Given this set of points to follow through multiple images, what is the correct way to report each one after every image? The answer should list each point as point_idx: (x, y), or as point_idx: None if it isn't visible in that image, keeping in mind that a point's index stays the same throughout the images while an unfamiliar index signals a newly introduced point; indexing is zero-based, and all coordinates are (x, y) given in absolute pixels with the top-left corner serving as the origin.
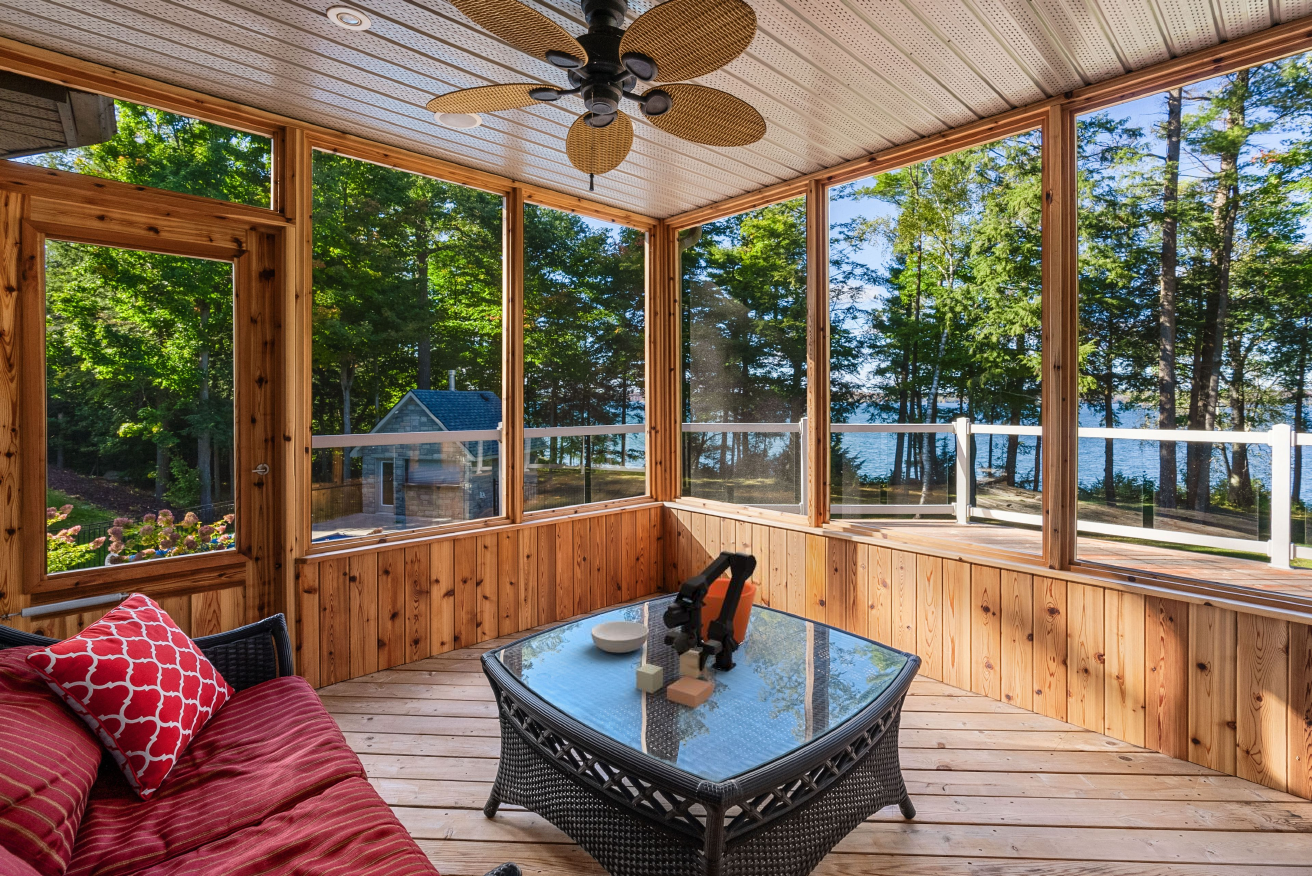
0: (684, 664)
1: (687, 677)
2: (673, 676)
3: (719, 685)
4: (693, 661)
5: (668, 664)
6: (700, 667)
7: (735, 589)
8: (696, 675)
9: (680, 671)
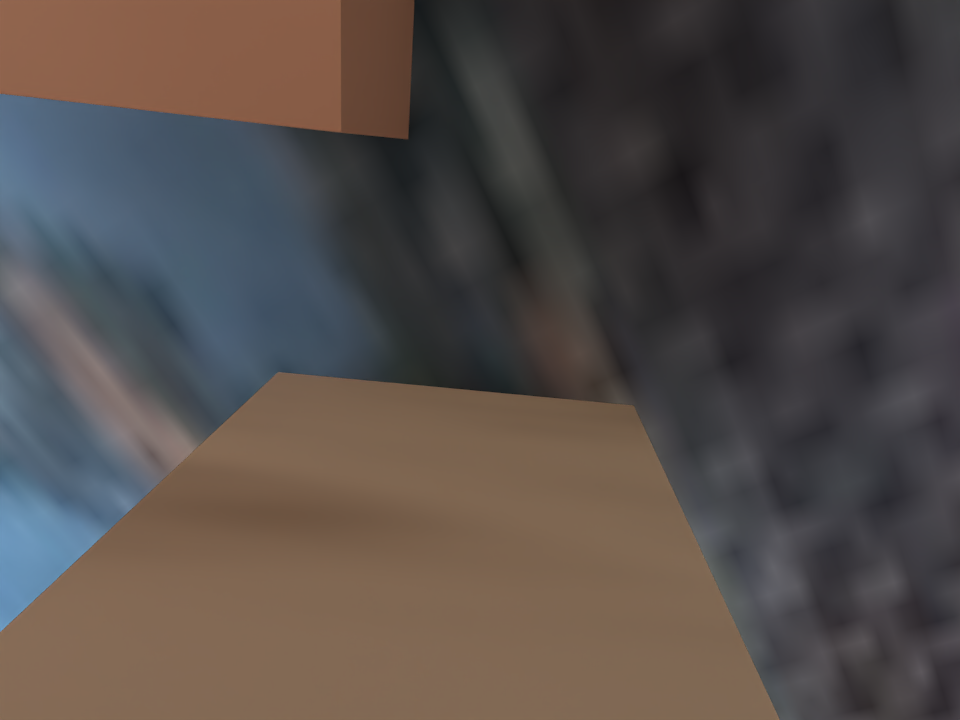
0: (534, 548)
1: (210, 46)
2: (749, 415)
3: (38, 433)
4: (91, 674)
5: (925, 687)
6: None
7: None
8: (258, 410)
9: (628, 431)
